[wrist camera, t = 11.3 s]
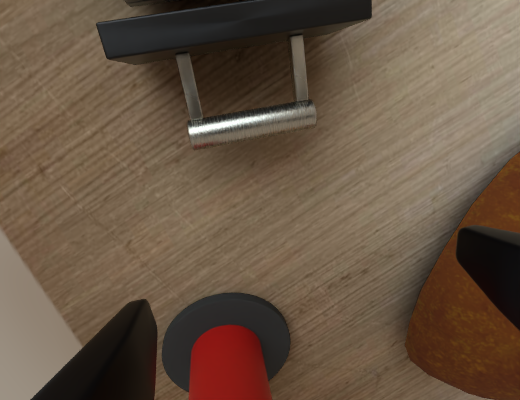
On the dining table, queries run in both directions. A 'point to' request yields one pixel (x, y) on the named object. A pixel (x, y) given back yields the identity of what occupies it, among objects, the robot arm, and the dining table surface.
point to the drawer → (227, 38)
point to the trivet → (218, 314)
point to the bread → (470, 308)
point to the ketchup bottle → (228, 366)
